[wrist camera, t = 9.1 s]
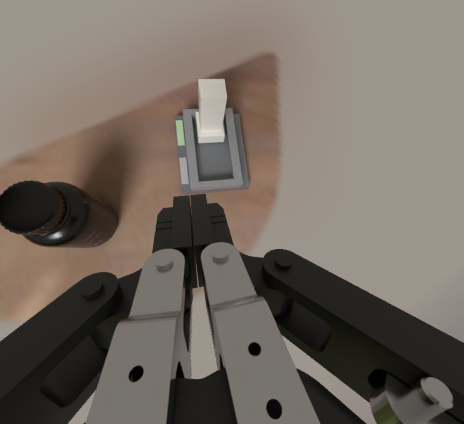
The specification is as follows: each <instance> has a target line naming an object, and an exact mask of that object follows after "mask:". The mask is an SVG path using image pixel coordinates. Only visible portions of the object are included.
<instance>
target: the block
mask: <svg viewBox="0 0 464 424" xmlns="http://www.w3.org/2000/svg"><path fill="white" fill-rule="evenodd" d="M198 95H199V112H195V114H196V126H197V135H198V143H214V142H224V138H225V133H224V126H223V119H224V113H225V107H226V101H227V94H226V86H225V79H198Z"/></svg>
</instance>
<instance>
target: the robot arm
mask: <svg viewBox="0 0 464 424" xmlns="http://www.w3.org/2000/svg"><path fill="white" fill-rule="evenodd" d="M190 197H191V206H190V198H189V195H188V196H177V197H174V198H173V207H170V208H163V209H162V210H161V212H160V213H159V214H158V216H157V224H156V230H155V237H154V244H153V251H152V254H151V255H150V256H149V257H148V258H147V259H146V260H145V262H144V265H143V268H141V269H140V270H138V271H136V272H134V273H132V274H130V275H127V276H124V277H122V278H119V279H117V277H116V276H115V275H113V274H111V273H108V272H99V273H95V274H92V275H89V276H87V277H85V278H83V279H82V280H80V281H79V282H78V283H76V284H75V285H74V286H72V287H71V288H70V289H68V290H67V291H66V292H64V293H63V294H62V295H60V296H59V297H58V298H57V299H55V300H54V301H53V302H51V303H50V304H49V305H47V306H46V307H45V308H43V309H42V310H41V311H40V312H38V313H37V314H36V315H34V316H33V317H32V318H30V319H29V320H28V321H26V322H25V323H24V324H23V325H21V326H20V327H19V328H17V329H16V330H15V331H13V332H12V333H11V334H9V335H8V336H7V337H6V338H4V339H3V340H2V341H0V424H68V422H69V421H70V420H71V419H72V418H73V416H74V415H75V414H76V413H77V412H78V411H79V409H80V408H81V407H82V406H83V404H84V403H85V402H86V401H87V400H88V398H89V397H90V396H91V395H92V394H93V392H94V391H95V390H96V392H95V395H94V398H93V402H92V405H91V408H90V411H89V415H88V417H87V421H86V422H85V423H84V424H366V423H365V422H364V421H363V420H361V419H360V418H359V417H358V416H357V415H356V414H355V413H353V412H352V411H351V410H350V409H349V408H348V407H347V406H345V405H344V404H343V403H342V402H341V401H340V400H339V399H337V398H336V397H335V396H334V395H333V394H332V393H331V392H329V391H328V390H327V389H326V388H325V387H324V386H323V385H321V384H320V383H319V382H318V381H316V380H315V379H314V378H312V377H311V376H309V375H308V374H306V373H305V372H303V371H301V370H299V369H297V368H295V365H294V363H293V361H292V358H291V356H290V354H289V352H288V350H287V347H286V345H285V343H284V341H283V338H282V336H281V335H283V336H284V337H285V338H287V339H288V340H289V341H290V342H292V343H293V344H294V345H296V346H297V347H298V348H299V349H301V350H302V351H303V352H305V353H306V354H307V355H309V356H310V357H311V358H312V359H314V360H315V361H316V362H318V363H319V364H320V365H322V366H323V367H324V368H325V369H327V370H328V371H329V372H331V373H332V374H333V375H334V376H336V377H337V378H338V379H339V380H341V381H342V382H343V383H345V384H346V385H347V386H349V387H350V388H351V389H352V390H354V391H355V392H356V393H358V394H359V395H360V396H361V397H363V398H364V399H365V400H367V401H368V402H369V403H370V406H371V411H372V414H373V417H374V419H375V421H376V423H377V424H464V343H463V342H461V341H459V340H457V339H455V338H453V337H452V336H450V335H448V334H446V333H444V332H442V331H440V330H438V329H436V328H434V327H433V326H431V325H429V324H427V323H425V322H423V321H421V320H419V319H418V318H416V317H414V316H412V315H410V314H408V313H406V312H404V311H402V310H401V309H399V308H397V307H395V306H393V305H391V304H389V303H387V302H386V301H384V300H382V299H380V298H378V297H376V296H374V295H372V294H370V293H368V292H367V291H365V290H363V289H361V288H359V287H357V286H355V285H353V284H352V283H350V282H348V281H346V280H344V279H342V278H340V277H338V276H336V275H335V274H333V273H331V272H329V271H327V270H325V269H323V268H321V267H319V266H317V265H316V264H314V263H312V262H310V261H308V260H306V259H304V258H302V257H301V256H299V255H297V254H295V253H293V252H291V251H288V250H284V249H275V250H271V251H269V252H268V253H266V254H265V256H264V258H259V257H252V256H247V255H245V254H242V253H241V252H239V251H238V249H237V248H236V247H235V246H234V244H233V241H232V238H231V234H230V231H229V227H228V224H227V220H226V217H225V213H224V210H223V208H222V207H221V206H220V205H219V204H218V203H211V204H207V200H206V195H205V194H198V195H190ZM191 211H192V215H191ZM195 257H196V259H195ZM196 265H197V273H198V281H199V287H204V292H205V301H206V308H207V313H208V318H209V324H210V329H211V335H212V340H213V345H214V351H215V356H216V364H217V369H218V371H216V372H214V373H212V374H211V375H209V376H207V377H205V378H203V379H192V372H191V371H192V370H191V333H192V301H193V293H192V288H198V286H197V273H196Z"/></svg>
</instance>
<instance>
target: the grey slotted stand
mask: <svg viewBox="0 0 464 424" xmlns="http://www.w3.org/2000/svg"><path fill="white" fill-rule="evenodd" d="M195 112H199V109H183V115H182V116H175V125H176V136H177V146H178V157H179V168H180V178H181V189H182V194H194V193H206V192H217V191H228V190H240V189H248V188H249V186H250V185H249V178H248V171H247V165H246V158H245V151H244V144H243V138H242V131H241V124H240V117H239V114H233V110H232V108H225V113H224V119H223V126H224V133H225V138H224V142H214V143H198V135H197V126H196V114H195Z"/></svg>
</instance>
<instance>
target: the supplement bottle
mask: <svg viewBox="0 0 464 424" xmlns="http://www.w3.org/2000/svg"><path fill="white" fill-rule="evenodd" d="M0 223H1V225H2V226H4V228H5V229H7V230H9V231H10V232H14V233H16V234H22V235H23V236H24V237H25V238H26V239H27V240H29V241H30V242H32V243H34V244H36V245H39V246H44V247H67V248H90V247H96V246H99V245H101V244H103V243H105V242H106V241H108V240H109V239H110V238H111V237H112V235H113V234H114V232H115V230H116V227H117V216H116V213H115V211H114V209H113V208H112V206H111V205H110V204H108V203H107V202H105V201H104V200H102V199H100V198H98V197H96V196H94V195H92V194H90V193H88V192H86V191H84V190H82V189H80V188H78V187H76V186H74V185H71V184H68V183H64V182H48V183H41V182H38V181H24V182H19V183H17V184H14V185H12V186H10V187H8V189H7V190H5V191H4V192H3V194H1V195H0Z"/></svg>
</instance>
